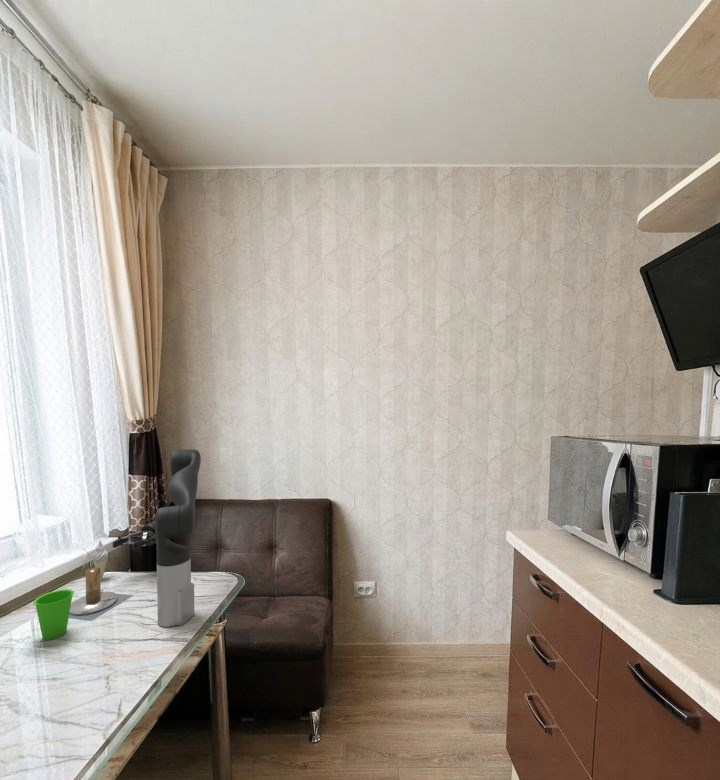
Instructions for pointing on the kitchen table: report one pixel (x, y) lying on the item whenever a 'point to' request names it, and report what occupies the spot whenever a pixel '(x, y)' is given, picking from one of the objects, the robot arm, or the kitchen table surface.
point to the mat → (93, 616)
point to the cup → (54, 612)
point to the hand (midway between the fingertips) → (123, 545)
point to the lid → (93, 596)
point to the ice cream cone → (100, 558)
